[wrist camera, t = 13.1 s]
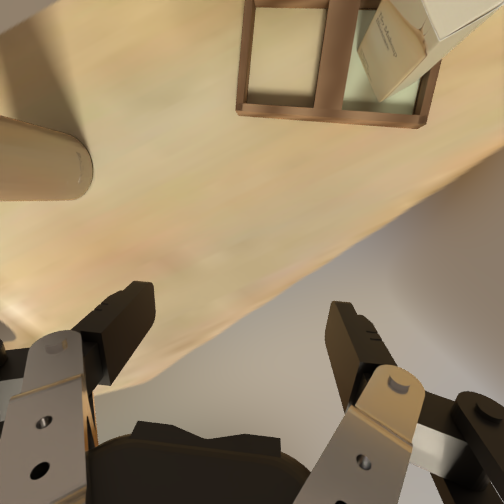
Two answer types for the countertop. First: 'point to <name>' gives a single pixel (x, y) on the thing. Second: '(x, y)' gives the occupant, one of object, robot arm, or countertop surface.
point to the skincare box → (416, 38)
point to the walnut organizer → (339, 73)
